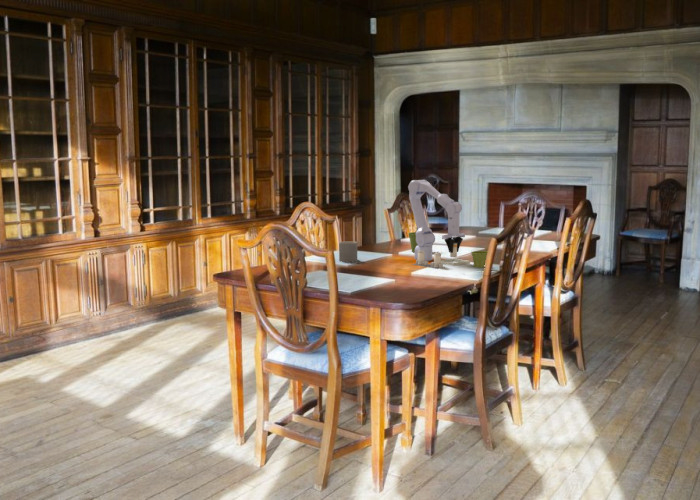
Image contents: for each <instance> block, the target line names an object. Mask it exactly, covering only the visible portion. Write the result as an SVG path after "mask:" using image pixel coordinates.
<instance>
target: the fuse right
mask: <svg viewBox="0 0 700 500" xmlns="http://www.w3.org/2000/svg"><path fill="white" fill-rule="evenodd" d="M441 260H442V253H441V252H434V253H433V262H434V268H433V269H435V268H439V264H441Z"/></svg>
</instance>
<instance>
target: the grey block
mask: <svg viewBox="0 0 700 500" xmlns="http://www.w3.org/2000/svg"><path fill="white" fill-rule="evenodd" d="M338 260H339V262H341V261H342V262H343V263H351V262H350V261H355V262H357V261H358V241H349V240H348V241H347V240H346V241H340V242H338ZM342 262H341V263H342Z"/></svg>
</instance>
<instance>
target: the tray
mask: <svg viewBox="0 0 700 500" xmlns="http://www.w3.org/2000/svg"><path fill="white" fill-rule="evenodd" d="M441 264H443V265H448V266H458V265H460V266H461V265H465V264H469V265H470V264H471V260H467V259H466V260H465V259H461V258H460V259H459V258H455V257H452V258H447V259H446V258H445V259H441Z"/></svg>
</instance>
